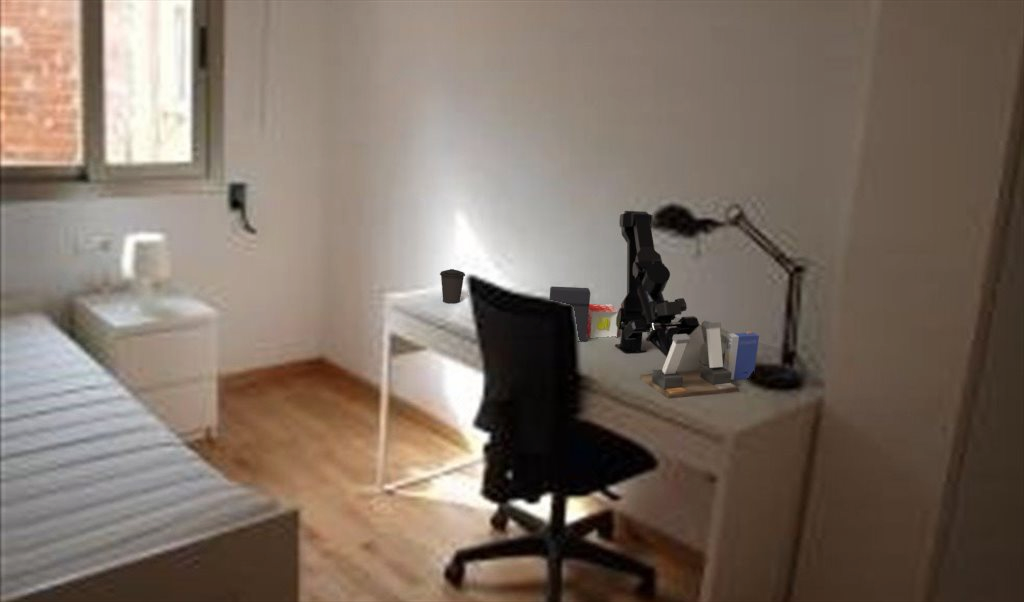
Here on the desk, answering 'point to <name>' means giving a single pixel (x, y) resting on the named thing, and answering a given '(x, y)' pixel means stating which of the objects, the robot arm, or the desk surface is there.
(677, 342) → the lever
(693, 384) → the switch board
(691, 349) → the desk surface
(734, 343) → the walkman
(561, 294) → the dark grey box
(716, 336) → the lever
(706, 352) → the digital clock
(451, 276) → the coffee cup
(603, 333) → the red and white cube
